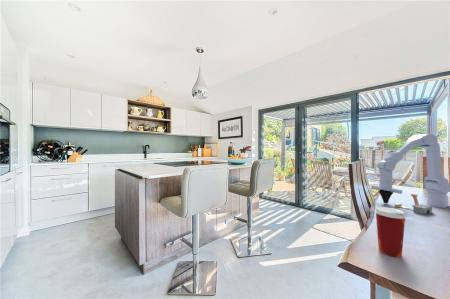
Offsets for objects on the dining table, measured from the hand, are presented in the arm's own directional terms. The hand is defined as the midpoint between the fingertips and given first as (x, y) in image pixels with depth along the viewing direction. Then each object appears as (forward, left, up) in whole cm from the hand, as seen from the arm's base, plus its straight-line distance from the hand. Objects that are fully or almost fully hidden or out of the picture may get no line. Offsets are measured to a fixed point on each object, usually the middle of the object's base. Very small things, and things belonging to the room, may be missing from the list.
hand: (385, 203), depth 108 cm
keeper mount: (-10, +11, -2) cm, 14 cm away
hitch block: (0, +16, -2) cm, 16 cm away
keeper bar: (-7, +11, +3) cm, 13 cm away
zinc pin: (0, +9, -2) cm, 9 cm away
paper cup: (+58, +29, -2) cm, 65 cm away
